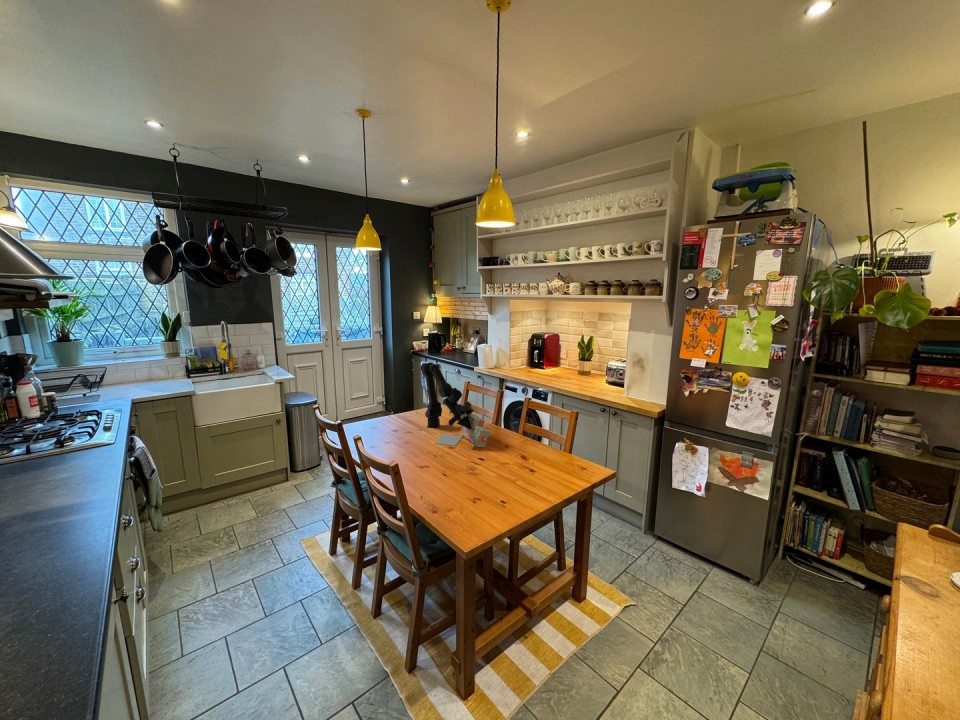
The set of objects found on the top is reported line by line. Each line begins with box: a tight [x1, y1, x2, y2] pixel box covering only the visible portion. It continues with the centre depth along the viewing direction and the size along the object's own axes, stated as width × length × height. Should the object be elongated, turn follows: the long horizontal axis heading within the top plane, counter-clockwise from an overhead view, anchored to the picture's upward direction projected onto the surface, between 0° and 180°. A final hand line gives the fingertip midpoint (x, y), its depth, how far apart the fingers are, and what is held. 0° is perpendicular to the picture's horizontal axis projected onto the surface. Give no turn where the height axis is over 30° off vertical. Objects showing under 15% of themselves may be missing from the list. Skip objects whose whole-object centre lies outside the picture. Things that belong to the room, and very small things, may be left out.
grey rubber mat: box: [434, 433, 464, 447], centre depth 215 cm, size 12×14×1 cm
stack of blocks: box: [460, 413, 491, 448], centre depth 213 cm, size 21×6×12 cm, turn 25°
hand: (470, 428), depth 211 cm, fingers closed
